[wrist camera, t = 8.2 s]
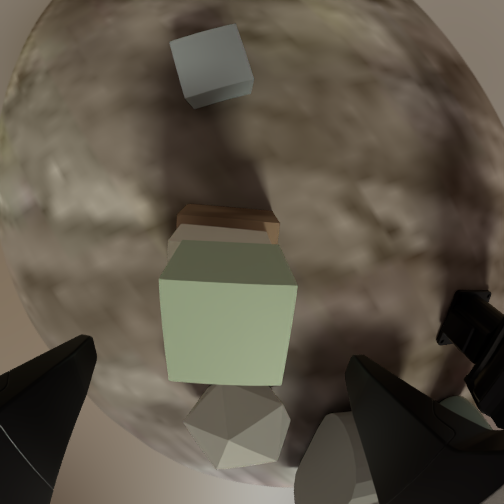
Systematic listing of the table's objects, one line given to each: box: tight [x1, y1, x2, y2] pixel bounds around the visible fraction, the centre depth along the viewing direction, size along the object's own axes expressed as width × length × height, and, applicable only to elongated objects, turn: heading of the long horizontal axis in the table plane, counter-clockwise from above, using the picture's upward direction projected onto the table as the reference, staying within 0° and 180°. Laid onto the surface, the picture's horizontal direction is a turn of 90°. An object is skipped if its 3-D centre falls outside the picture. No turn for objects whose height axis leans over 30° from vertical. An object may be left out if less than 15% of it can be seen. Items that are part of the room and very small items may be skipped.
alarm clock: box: [294, 411, 379, 504], centre depth 24 cm, size 21×10×13 cm, turn 173°
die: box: [183, 384, 291, 470], centre depth 22 cm, size 8×9×10 cm
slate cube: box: [169, 23, 254, 109], centre depth 15 cm, size 4×4×4 cm
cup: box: [439, 396, 493, 430], centre depth 26 cm, size 8×8×10 cm
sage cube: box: [159, 240, 298, 386], centre depth 12 cm, size 4×4×4 cm
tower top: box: [167, 224, 271, 264], centre depth 16 cm, size 5×5×4 cm
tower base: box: [176, 204, 280, 244], centre depth 19 cm, size 6×6×4 cm
